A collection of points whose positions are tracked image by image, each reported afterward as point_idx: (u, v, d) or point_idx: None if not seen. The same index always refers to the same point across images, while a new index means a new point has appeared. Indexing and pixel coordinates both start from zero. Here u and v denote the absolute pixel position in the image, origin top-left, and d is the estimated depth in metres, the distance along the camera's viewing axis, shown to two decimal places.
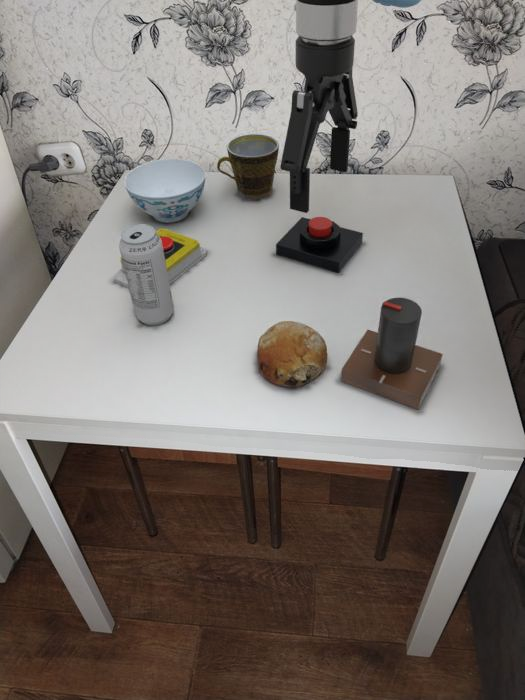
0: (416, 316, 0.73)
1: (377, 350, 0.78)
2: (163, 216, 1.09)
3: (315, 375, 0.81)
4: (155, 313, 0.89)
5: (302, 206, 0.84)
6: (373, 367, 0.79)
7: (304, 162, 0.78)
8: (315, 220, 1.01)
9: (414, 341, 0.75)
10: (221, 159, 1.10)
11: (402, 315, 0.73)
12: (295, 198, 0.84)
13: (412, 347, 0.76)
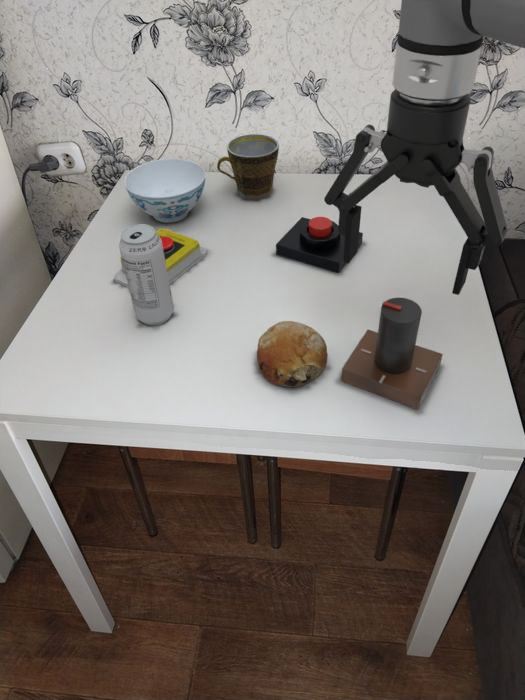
0: (416, 316, 0.73)
1: (377, 350, 0.78)
2: (163, 216, 1.09)
3: (315, 375, 0.81)
4: (155, 313, 0.89)
5: (465, 279, 0.68)
6: (373, 367, 0.79)
7: (484, 225, 0.63)
8: (315, 220, 1.01)
9: (414, 341, 0.75)
10: (221, 159, 1.10)
11: (402, 315, 0.73)
12: (464, 277, 0.67)
13: (412, 347, 0.76)
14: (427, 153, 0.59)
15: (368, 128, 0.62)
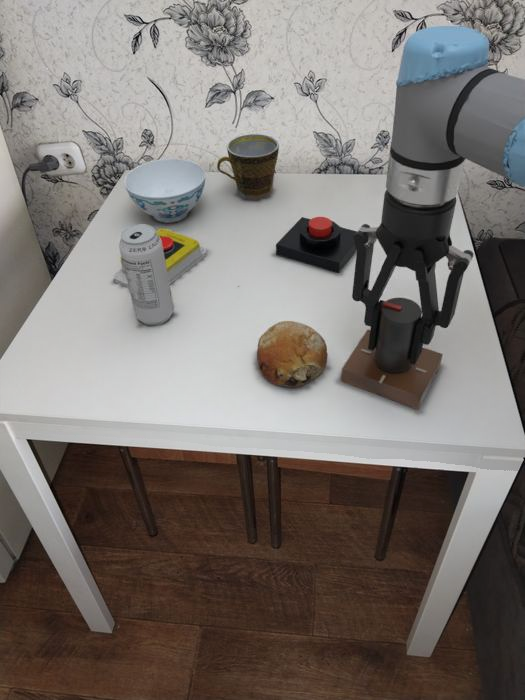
0: (416, 316, 0.73)
1: (377, 351, 0.78)
2: (163, 216, 1.09)
3: (315, 375, 0.81)
4: (155, 313, 0.89)
5: (421, 350, 0.77)
6: (373, 367, 0.79)
7: None
8: (315, 220, 1.01)
9: None
10: (221, 159, 1.10)
11: (402, 315, 0.73)
12: (419, 350, 0.76)
13: None
14: None
15: (362, 227, 0.69)
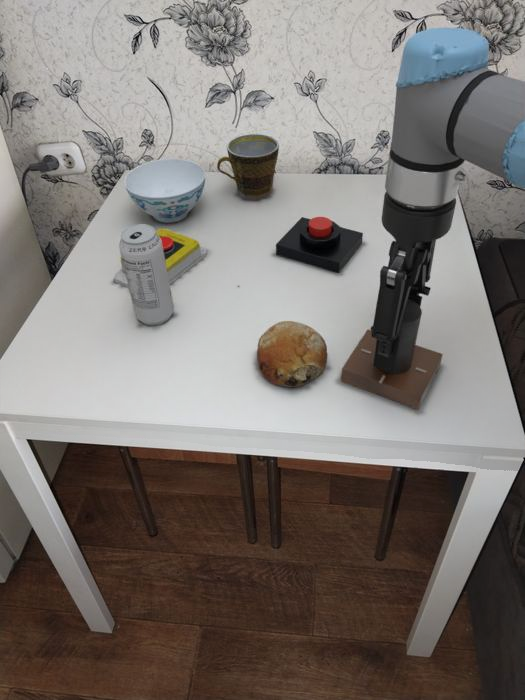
0: (409, 301, 0.75)
1: (402, 360, 0.76)
2: (163, 216, 1.09)
3: (315, 375, 0.81)
4: (155, 313, 0.89)
5: None
6: (373, 367, 0.79)
7: None
8: (315, 220, 1.01)
9: None
10: (221, 159, 1.10)
11: (410, 309, 0.74)
12: None
13: None
14: None
15: (390, 269, 0.63)
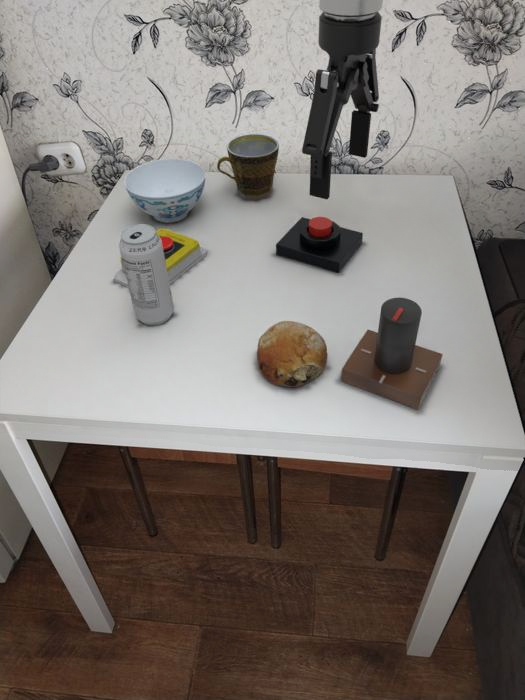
0: (409, 301, 0.75)
1: (402, 360, 0.76)
2: (163, 216, 1.09)
3: (315, 375, 0.81)
4: (155, 313, 0.89)
5: None
6: (373, 367, 0.79)
7: None
8: (315, 220, 1.01)
9: None
10: (221, 159, 1.10)
11: (410, 309, 0.74)
12: None
13: None
14: (358, 60, 0.75)
15: (325, 70, 0.71)
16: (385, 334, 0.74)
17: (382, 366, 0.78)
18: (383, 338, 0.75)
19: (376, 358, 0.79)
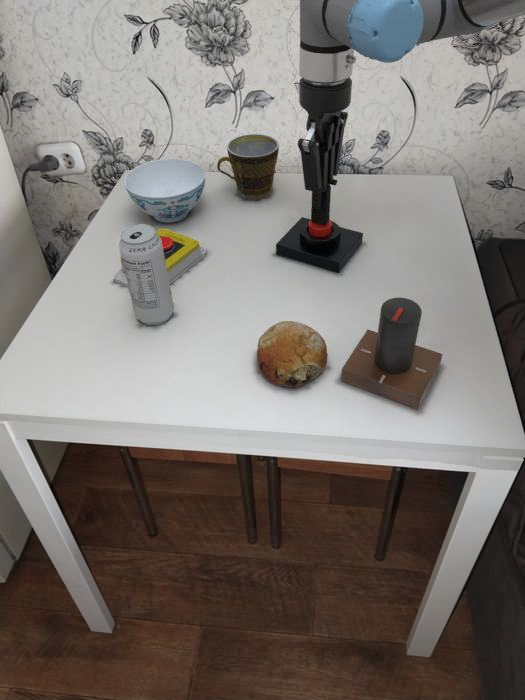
0: (409, 301, 0.75)
1: (402, 360, 0.76)
2: (163, 216, 1.09)
3: (315, 375, 0.81)
4: (155, 313, 0.89)
5: None
6: (373, 367, 0.79)
7: None
8: None
9: None
10: (221, 159, 1.10)
11: (410, 309, 0.74)
12: None
13: None
14: None
15: (304, 140, 0.85)
16: (385, 334, 0.74)
17: (382, 366, 0.78)
18: (383, 338, 0.75)
19: (376, 358, 0.79)
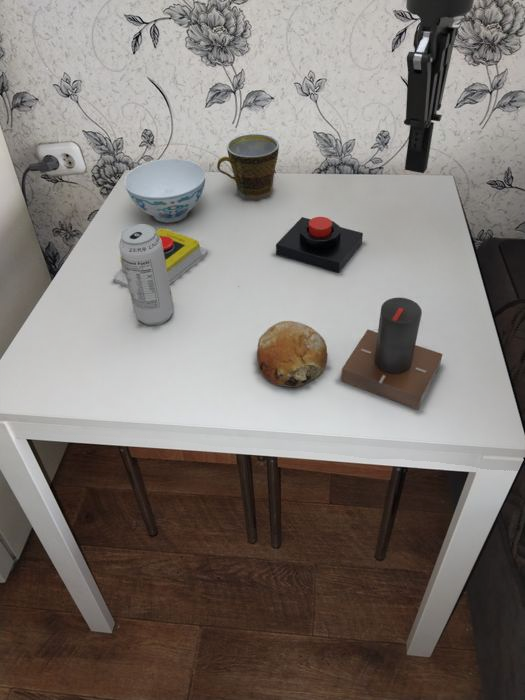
0: (409, 301, 0.75)
1: (402, 360, 0.76)
2: (163, 216, 1.09)
3: (315, 375, 0.81)
4: (155, 313, 0.89)
5: None
6: (373, 367, 0.79)
7: None
8: (315, 220, 1.01)
9: None
10: (221, 159, 1.10)
11: (410, 309, 0.74)
12: None
13: None
14: None
15: (416, 53, 0.68)
16: (385, 334, 0.74)
17: (382, 366, 0.78)
18: (383, 338, 0.75)
19: (376, 358, 0.79)
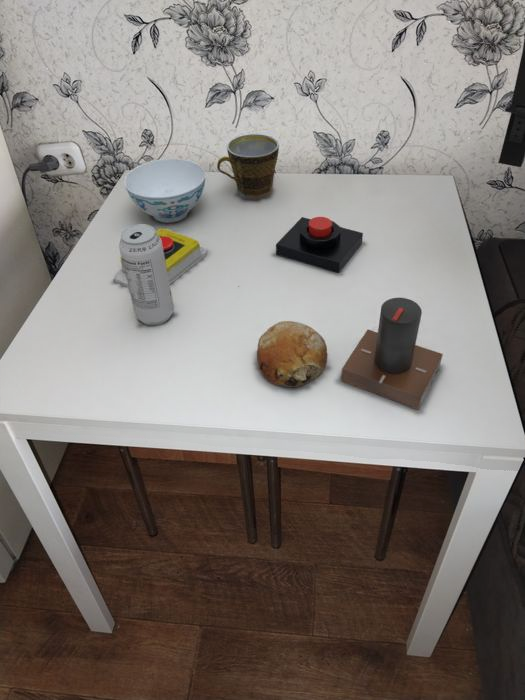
0: (409, 301, 0.75)
1: (402, 360, 0.76)
2: (163, 216, 1.09)
3: (315, 375, 0.81)
4: (155, 313, 0.89)
5: None
6: (373, 367, 0.79)
7: None
8: (315, 220, 1.01)
9: None
10: (221, 159, 1.10)
11: (410, 309, 0.74)
12: None
13: None
14: None
15: None
16: (385, 334, 0.74)
17: (382, 366, 0.78)
18: (383, 338, 0.75)
19: (376, 358, 0.79)
